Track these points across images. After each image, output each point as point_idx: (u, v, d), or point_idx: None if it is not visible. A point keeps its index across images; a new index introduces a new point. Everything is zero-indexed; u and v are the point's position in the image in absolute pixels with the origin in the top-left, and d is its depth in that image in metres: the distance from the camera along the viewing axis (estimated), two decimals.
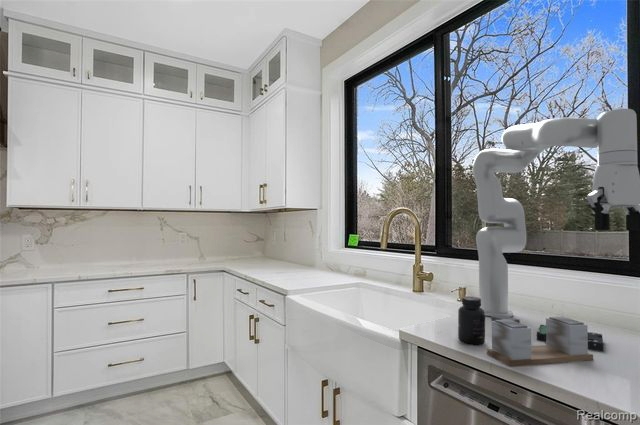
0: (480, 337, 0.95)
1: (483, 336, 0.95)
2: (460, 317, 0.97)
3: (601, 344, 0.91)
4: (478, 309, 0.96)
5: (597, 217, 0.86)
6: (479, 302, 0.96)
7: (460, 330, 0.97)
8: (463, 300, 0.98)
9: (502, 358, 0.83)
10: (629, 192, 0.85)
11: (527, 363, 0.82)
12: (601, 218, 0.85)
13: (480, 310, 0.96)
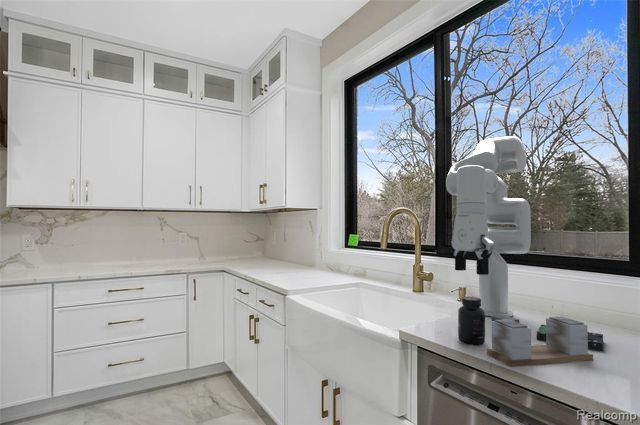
0: (480, 337, 0.95)
1: (483, 336, 0.95)
2: (460, 317, 0.97)
3: (601, 344, 0.91)
4: (478, 309, 0.96)
5: (483, 263, 0.92)
6: (479, 302, 0.96)
7: (460, 330, 0.97)
8: (463, 300, 0.98)
9: (502, 358, 0.83)
10: None
11: (527, 363, 0.82)
12: (487, 264, 0.93)
13: (480, 310, 0.96)
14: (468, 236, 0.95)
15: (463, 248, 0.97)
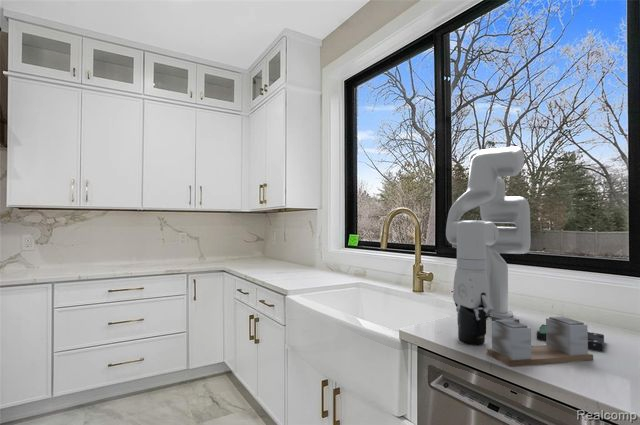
0: (480, 337, 0.95)
1: (483, 336, 0.95)
2: (460, 317, 0.97)
3: (601, 344, 0.91)
4: None
5: (481, 323, 0.93)
6: None
7: (460, 330, 0.97)
8: None
9: (502, 358, 0.83)
10: None
11: (527, 363, 0.82)
12: (485, 324, 0.93)
13: (480, 310, 0.96)
14: (468, 293, 0.95)
15: (463, 304, 0.97)
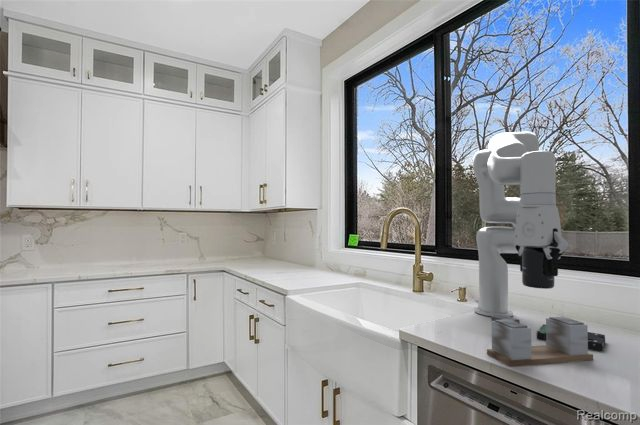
0: (551, 279, 0.84)
1: (553, 278, 0.85)
2: (526, 258, 0.87)
3: (600, 344, 0.91)
4: None
5: (553, 263, 0.83)
6: None
7: (526, 273, 0.87)
8: None
9: (502, 358, 0.83)
10: None
11: (527, 363, 0.82)
12: (557, 264, 0.83)
13: None
14: (537, 230, 0.85)
15: (530, 244, 0.87)
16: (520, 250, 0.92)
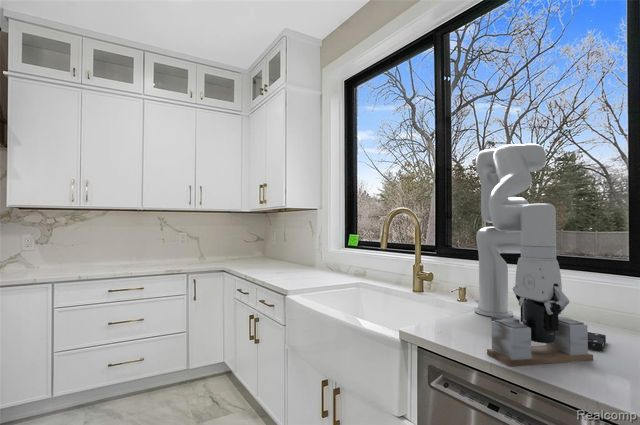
0: (551, 334, 0.84)
1: (554, 333, 0.85)
2: (526, 311, 0.87)
3: (600, 344, 0.91)
4: None
5: (554, 318, 0.83)
6: None
7: None
8: None
9: (502, 358, 0.83)
10: None
11: (527, 363, 0.82)
12: (557, 319, 0.83)
13: None
14: (538, 285, 0.84)
15: (531, 297, 0.86)
16: (520, 300, 0.91)
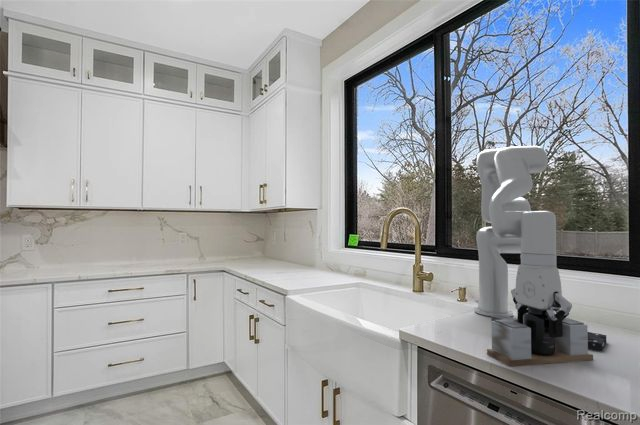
0: (551, 347, 0.84)
1: (554, 345, 0.85)
2: (526, 324, 0.87)
3: (600, 344, 0.91)
4: (548, 315, 0.85)
5: (558, 324, 0.81)
6: None
7: None
8: None
9: (502, 358, 0.83)
10: None
11: (527, 363, 0.82)
12: (562, 325, 0.82)
13: None
14: (538, 292, 0.84)
15: (531, 304, 0.86)
16: (517, 304, 0.92)
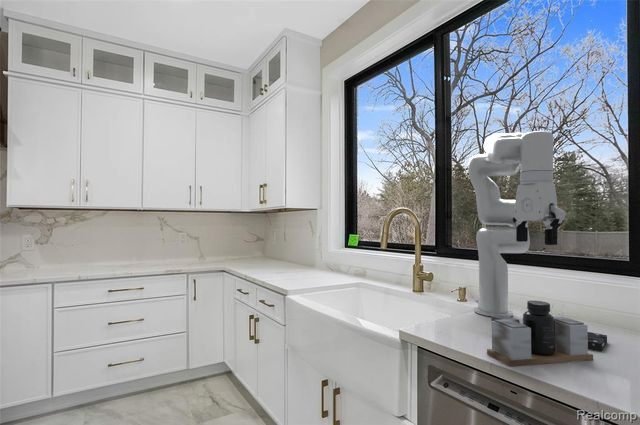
0: (551, 347, 0.84)
1: (554, 345, 0.85)
2: (526, 324, 0.87)
3: (600, 344, 0.91)
4: (548, 315, 0.85)
5: (553, 232, 0.89)
6: (548, 307, 0.85)
7: None
8: (529, 305, 0.87)
9: (502, 358, 0.83)
10: None
11: (527, 363, 0.82)
12: (556, 234, 0.89)
13: (550, 316, 0.85)
14: (535, 205, 0.91)
15: (528, 218, 0.93)
16: (516, 222, 0.99)
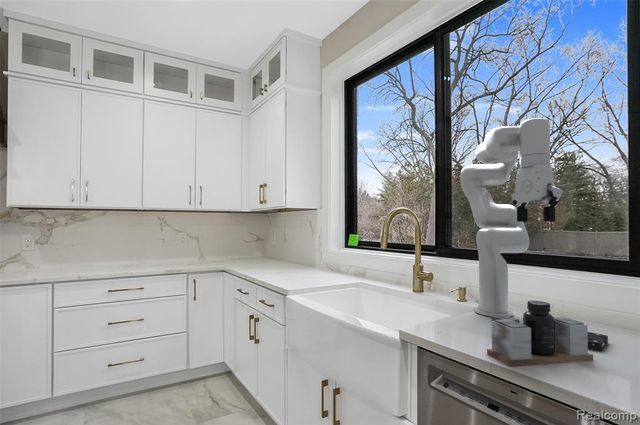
0: (551, 347, 0.84)
1: (554, 345, 0.85)
2: (526, 324, 0.87)
3: (599, 344, 0.91)
4: (548, 315, 0.85)
5: (551, 210, 0.96)
6: (549, 307, 0.86)
7: None
8: (529, 305, 0.87)
9: (502, 358, 0.83)
10: None
11: (527, 363, 0.82)
12: (554, 211, 0.96)
13: (550, 316, 0.85)
14: (534, 186, 0.99)
15: (528, 198, 1.01)
16: (517, 203, 1.07)
